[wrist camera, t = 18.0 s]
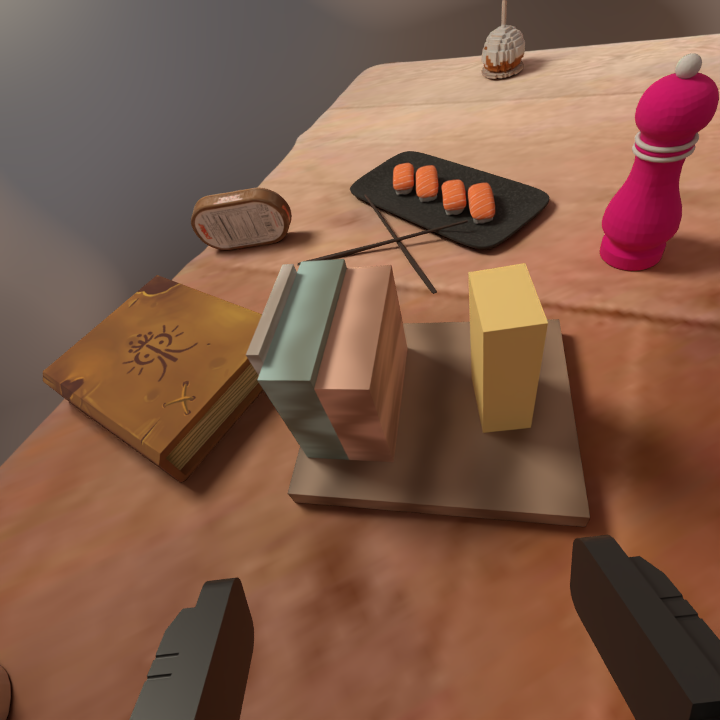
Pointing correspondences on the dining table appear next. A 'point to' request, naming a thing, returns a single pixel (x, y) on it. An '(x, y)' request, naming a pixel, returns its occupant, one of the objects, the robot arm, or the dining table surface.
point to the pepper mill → (658, 167)
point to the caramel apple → (503, 50)
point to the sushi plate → (446, 202)
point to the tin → (241, 219)
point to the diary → (164, 373)
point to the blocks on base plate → (406, 407)
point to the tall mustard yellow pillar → (505, 346)
